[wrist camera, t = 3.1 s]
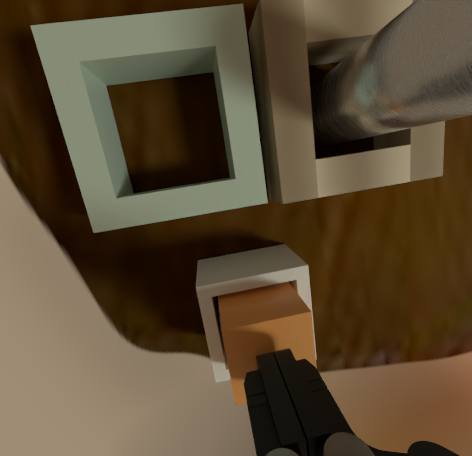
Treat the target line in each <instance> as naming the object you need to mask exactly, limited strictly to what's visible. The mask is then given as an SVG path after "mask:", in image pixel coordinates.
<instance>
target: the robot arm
mask: <svg viewBox="0 0 472 456" xmlns="http://www.w3.org/2000/svg"><path fill="white" fill-rule="evenodd" d="M256 362H257V369H258V370H254V371H250V372H247V373H246V377H245V381H244V389H245V394H246V400H247V405H248V411H249V416H250V422H251V427H252V432H253V438H254V443H255V448H256V454H257V456H459V455H457V454H456V453H454V452H452V451H450V450H448V449H446V448H444V447H442V446H440V445H438V444H436V443H432V442H428V441H418V442H415V443H413V444H412V445H411V446H410V447H409V449H408V453H407V454H406V453H398V452H389V451H382V450H378V449H375V448H373V447H371V446H369V445H367V444H366V443H364V441H362V440H361V439H360V438H358V437H357V436H356V435H355V434H354V432H353V431H352V430H351V428H350V427H349V425H348V423H347V421H346V420H345V418H344V416H343V414H342V413H341V411H340V409H339V407H338V406H337V404H336V402H335V400H334V399H333V397H332V395H331V393H330V392H329V390H328V389H327V386H326V385H325V383H324V381H323V380H322V378H321V376H320V374H319V372H318V371H317V369H316V367H315V366H314V365H312V364H311V363H310V362H309V361H308V360H306V359H301V360H296V359H295V357H294V355H293V353H292V351H291V349H290V348H287V349H283V350H278V351H274V352H273V353H272V352H270V353H266V354H261V355H257V356H256Z"/></svg>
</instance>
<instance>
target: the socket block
mask: <svg viewBox="0 0 472 456" xmlns="http://www.w3.org/2000/svg"><path fill="white" fill-rule="evenodd" d="M415 1H416V0H259V1H258V4H257V8H256V11H255V14H254V17H253V20H252V24H251V27H250V30H249V33H248V34H249V42H250V50H251V59H252V67H253V75H254V83H255V91H256V99H257V107H258V115H259V123H260V132H261V140H262V148H263V156H264V164H265V172H266V180H267V188H268V196H269V199H272V200H274V201H277V202H279V203H282V204H285V203H291V202H297V201H302V200H308V199H314V198H320V197H325V196H331V195H337V194H342V193H348V192H354V191H359V190H365V189H371V188H377V187H382V186H388V185H394V184H399V183H405V182H411V181H417V180H422V179H428V178H434V177H439V176H442V175H443V153H444V131H445V121H440V122H436V123H431V124H427V125H422V126H418V127H413V128H408V129H404V130H399V131H395V132H390V133H386V134H381V135H376V136H373V142H374V150H368V151H362V152H356V153H350V154H344V155H337V156H331V157H325V158H319V159H315V146H314V133H313V120H312V106H311V93H310V80H309V66H312V65H319V64H327V63H335V62H341V61H343V60H344V59H345V58H346V57H347V56H349V55H350V54H351V53H352V52H354V51H355V50H356V49H357V48H358V47H360V46H361V45H362V44H363V43H365V42H366V41H367V40H368V39H369V38H371V37H372V36H373V35H374V34H376V33H377V32H378V31H379V30H380V29H382V28H383V27H384V26H385V25H387V24H388V23H389V22H390V21H391V20H393V19H394V18H395V17H396V16H398V15H399V14H400V13H401V12H402V11H404V10H405V9H406V8H407V7H408V6H410V5H411V4H412V3H413V2H415Z"/></svg>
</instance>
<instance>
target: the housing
mask: <svg viewBox="0 0 472 456" xmlns="http://www.w3.org/2000/svg"><path fill="white" fill-rule="evenodd" d="M283 282H289V283H290V284H291V286H292V287H293V288H294V289H295V291H296V292H297V293H298V295H299V296H300V297H301V299H302V300H303V301H304V303H305V304H306V305H307V306H308V308H309V309H310V310H311V313H312V303H311V292H310V281H309V270H308V265H307V264H306V263H305V262H304V261H303V260H302V259H301V258H300V257H298V256H297V255H296V254H295V253H294V252H293V251H292V250H291V249H290V248H288V247H287V246H286V245H285V244H281V245H276V246H271V247H266V248H260V249H255V250H250V251H245V252H239V253H234V254H229V255H223V256H218V257H213V258H208V259H202V260H198V265H197V277H196V292H197V296H198V301H199V306H200V310H201V315H202V320H203V325H204V329H205V334H206V339H207V343H208V348H209V353H210V357H211V362H212V367H213V371H214V376H215V381H216V383H217V382H221V381H225V380H230V379H231V378H230V373H229V368H228V363H227V357H226V352H225V347H224V342H223V337H222V332H221V323H220V316H219V311H218V306H217V301H216V296H219V295H224V294H229V293H234V292H239V291H244V290H248V289H253V288H258V287H263V286H268V285H273V284H278V283H283ZM312 324H313V314H312ZM313 335H314V325H313ZM314 346H315V336H314ZM315 357H316V347H315ZM316 359H317V358H316Z"/></svg>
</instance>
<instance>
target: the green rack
mask: <svg viewBox="0 0 472 456" xmlns="http://www.w3.org/2000/svg"><path fill="white" fill-rule="evenodd" d="M31 29H32V33H33V36H34V39H35V42H36V46H37V49H38V52H39V56H40V59H41V62H42V65H43V69H44V72H45V75H46V79H47V82H48V85H49V88H50V92H51V95H52V98H53V102H54V105H55V108H56V111H57V115H58V118H59V121H60V125H61V128H62V131H63V134H64V138H65V141H66V144H67V148H68V151H69V154H70V157H71V161H72V164H73V167H74V171H75V174H76V177H77V180H78V184H79V187H80V190H81V193H82V197H83V200H84V203H85V207H86V210H87V213H88V216H89V220H90V223H91V226H92V230H93V233H97V232H103V231H109V230H114V229H120V228H126V227H132V226H137V225H143V224H149V223H155V222H160V221H166V220H172V219H178V218H183V217H189V216H195V215H201V214H206V213H212V212H218V211H224V210H229V209H235V208H241V207H247V206H252V205H258V204H264V203H268V200H267V192H266V184H265V176H264V168H263V160H262V152H261V144H260V136H259V128H258V120H257V112H256V104H255V96H254V88H253V80H252V72H251V64H250V56H249V48H248V40H247V32H246V24H245V16H244V8H243V4H235V5H225V6H215V7H206V8H196V9H186V10H176V11H167V12H157V13H147V14H138V15H128V16H118V17H109V18H99V19H89V20H80V21H70V22H60V23H51V24H41V25H31ZM211 72H213V73H214V79H215V85H216V92H217V98H218V104H219V111H220V117H221V123H222V130H223V136H224V142H225V149H226V155H227V161H228V168H229V174H230V178H225V179H219V180H213V181H207V182H201V183H195V184H189V185H183V186H176V187H170V188H164V189H158V190H152V191H146V192H140V193H133V190H132V186H131V182H130V178H129V174H128V170H127V166H126V162H125V158H124V154H123V150H122V146H121V143H120V139H119V135H118V131H117V127H116V123H115V119H114V115H113V111H112V107H111V103H110V99H109V95H108V91H107V87H106V86H107V85H115V84H123V83H131V82H139V81H147V80H155V79H163V78H171V77H179V76H187V75H195V74H203V73H211Z"/></svg>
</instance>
